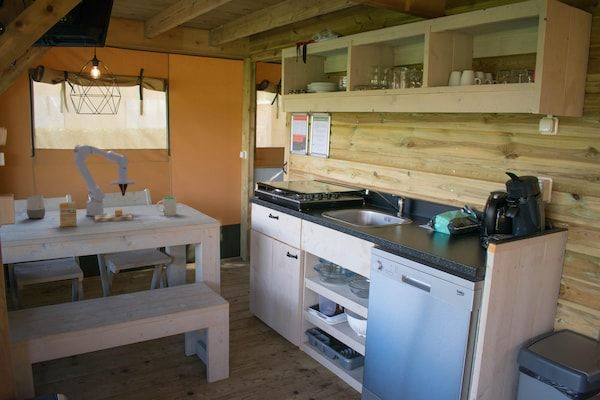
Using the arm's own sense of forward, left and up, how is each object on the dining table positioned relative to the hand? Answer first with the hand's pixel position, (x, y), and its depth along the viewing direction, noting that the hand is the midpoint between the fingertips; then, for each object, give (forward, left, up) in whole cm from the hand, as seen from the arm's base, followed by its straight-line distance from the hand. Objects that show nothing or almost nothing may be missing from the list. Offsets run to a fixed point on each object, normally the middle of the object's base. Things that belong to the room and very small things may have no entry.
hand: (123, 195), depth 310 cm
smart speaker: (-38, -32, -11) cm, 51 cm away
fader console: (+6, -24, -10) cm, 27 cm away
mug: (+30, -2, -11) cm, 32 cm away
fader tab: (+9, -22, -8) cm, 25 cm away
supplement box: (-8, -46, -11) cm, 48 cm away
